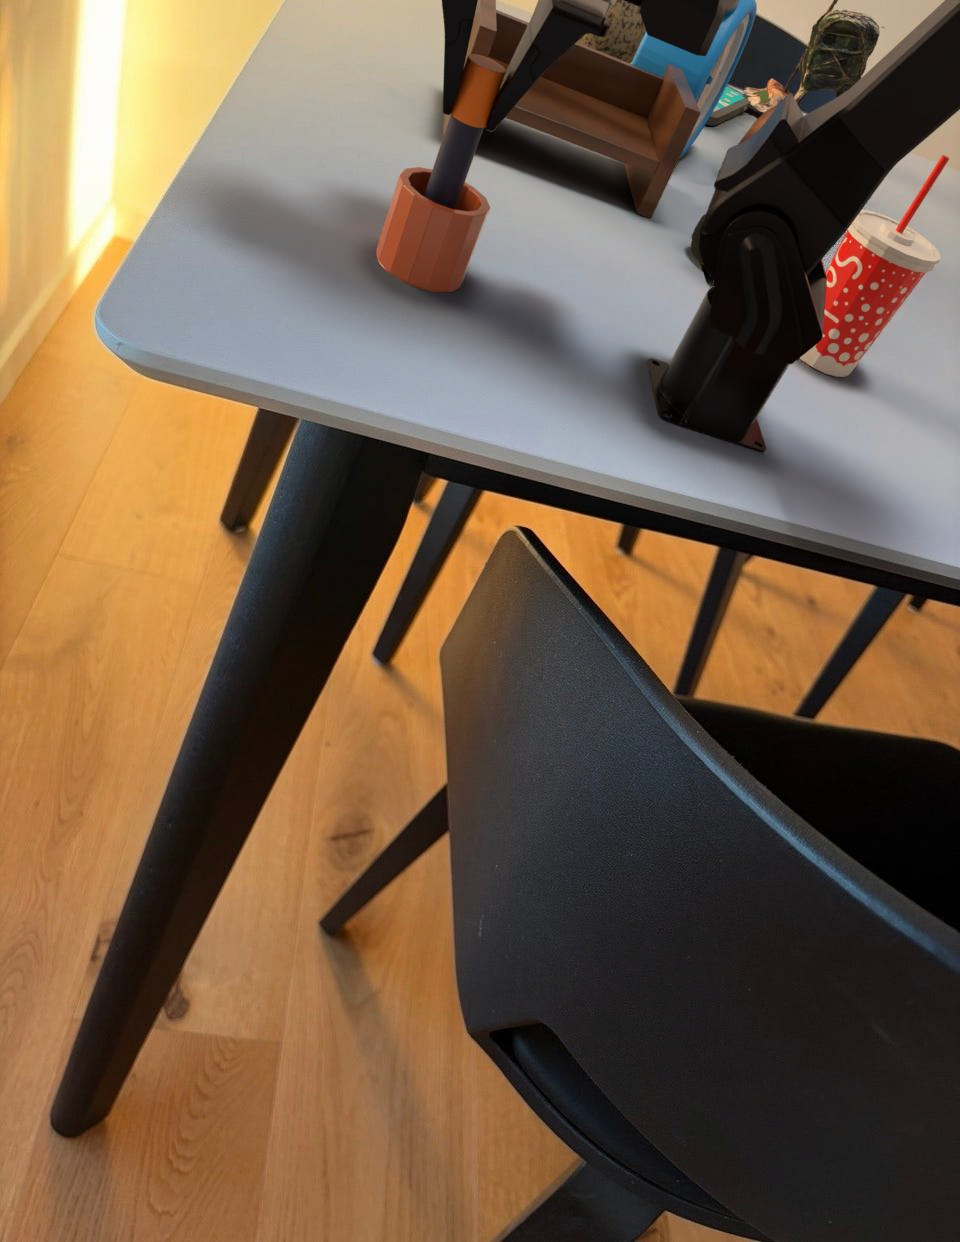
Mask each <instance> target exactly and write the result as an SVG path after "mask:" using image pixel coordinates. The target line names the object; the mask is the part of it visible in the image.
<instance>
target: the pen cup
mask: <svg viewBox="0 0 960 1242" xmlns="http://www.w3.org/2000/svg"><path fill="white" fill-rule="evenodd" d="M432 170H433V168H425V167H420V166H416V167H408V168H405V169H404V170H403V171H402V172H401V173H400V174H399V176H398V178H397V182H396V185H395V188H394V191H393V194H392V197H391V201H390V204H389V206H388V207H389V208H388V211H387V214H386V218H385V220H384V223H383V227H382V230H381V234H380V236H379V240H378V243H377V247H376V249H375V253H376V259H377V261H378V263H379V265H380V266H381V267H382V268H383V270H385V271H386V272H387V273H389V274H390V275H391V276H393V277H394V278H396V279H397V280H400V281H401V282H403V283H405V284H408V285H410V286H411V287H414V288H417V289H421V290H423V291H428V292H433V293H450V292H455V291H457V290H458V289H460V288H461V286H462V284H463V282H464V280H465V277H466V274H467V272H468V269H469V266H470V264H471V261H472V260H473V259H472V258H473V256H474V254H475V251H476V248H477V245H478V242H479V240H480V237H481V235H482V232H483V229H484V226H485V223H486V221H487V218H488V215H489V213H490V210H491V206H490V204H489V201H488V199H487V197H485V195H483V193H481V192H480V191H479V190H478V189H476V188H475V187H474V186H473V185H471V184H469V183H467V182H466V181H465V183H464V186H463V188H462V191H461V194H460V197H459V200H458V203H457V206H456V208H455V210H454V209H451V208H448V207H445V206H442V205H439V204H437V203H435V202H433V201H431V200H429V199H428V198H426V197H424V194H425V191H426V188H427V185H428V182H429V179H430V176H431V173H432Z"/></svg>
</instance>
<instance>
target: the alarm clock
mask: <svg viewBox="0 0 960 1242" xmlns="http://www.w3.org/2000/svg"><path fill="white" fill-rule="evenodd" d="M725 2H726V8H725V12H724V16H723V20H722V23H721V25H720V27H719V29H718V31H717V33H716V36H715V38H714V40H713V42H712V44H711V46H710V49H709V51H708V53H707V55H706V56H698V55H695V54H692V53H690V52H688V51H685V50H683V49H680V48H678V47H675V46H673V45H671V44H668V43H666V42H663V41H661V40H659V39H656V38H654V37H651V36H649V35H647V32H646V33H645V35H644V37H643V39H642V41H641V43H640V45H639V47H638V50H637V52H636V54H635V56H634V59H633V61H632V62H631V63H630V64H632V65H635V66H637V67H640V68H642V69H645V70H647V71H650V72H652V73H655V74H657V75H659V76H662V77H663V74H664V72H665V70H666V68H667V65H668V64H671V65H673V66H676V67H678V68H681V69H682V70H683V72H684V75H685V77H686V79H687V82H688V84H689V86H690V89H691V91H692V93H693V96H694V98H695V100H696V103H697V105H698V107H699V110H700V112H701V114H700V116H699V118H698V120H697V122H696V124H695V126H694V129H693V131H692V133H691V135H690V137H689V139H688V141H687V143H686V145H685V148H684V150H683V152H682V154H681V156H680V158H681V157H683V156H684V155H686V153H687V152H688V151H689V150H690V149H691V147H692V146H693V144H694V143H695V142H696V140H697V139H698V137H699V135H700V134H701V132H702V131H703V129H704V127H705V126H706V125H707V124H706V123H707V121H708V119H709V118H710V116H711V114H712V112H713V111H714V109H715V107H716V105H717V103H718V102H719V100H720V98H721V96H722V94H723V92H724V90H725V88H726V86H727V85H728V84H729V82H730V80H731V78H732V76H733V74H734V72H735V69H736V68H737V65H738V63H739V62H740V59H741V56H742V54H743V52H744V50H745V46H746V45H747V42H748V39H749V38H750V34H751V32H752V29H753V26H754V24H755V23H754V22H755V19H756V16H757V11H758V7H757V2H756V0H725Z"/></svg>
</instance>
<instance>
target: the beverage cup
mask: <svg viewBox="0 0 960 1242" xmlns="http://www.w3.org/2000/svg"><path fill="white" fill-rule="evenodd" d="M949 161H950V157H948V156H946V155H944V154H942V155H941V157H940V158H939V160H938V161H937V163H936V165H935V166H934V167H933V169H932V171H931V173H930V174H929V175H928V177H927V179H926V181H925V182H924V184H923V185H922V187H921V188H920V190H919V191H918V193H917V194H916V196H915V198H914V199H913V201H912V202H911V204H910V206H909V207H908V209H907V211H906V212H905V214H904V215H903V217H902V219H901V220H900V221H898V220H895V219H894V218H892V217H890V216H887V215H884V214H882V213H878V212H876V211H874V210H869V209H864V208H863V209H862V210H861V211H860V213H859V214H858V216H857V217H856V218H855V220H854V221H853V222H852V224H851V225H850V227H849V228H848V229H847V231H846V232H845V233H844V235H843V238H842V240H841V242H840V243H839V245H838V247H837V249H836V251H835V253H834V255H833V257H832V258H831V260H830V261H829V264H828V266H827V268H826V269H825V272H826V276H827V286H826V299H825V311H824V324H823V336H822V339H821V341H820V342H819V343H818V344H816V345H815V346H814V347H813V348H811V349H810V350H809V351H808V352H806V353H805V354H804V355H803V356H802V357H800V358H799V360H801V361H802V362H804V363H805V364H807V365H808V366H809V367H811V368H813V369H815V370H817V371H819V372H821V373H823V374H826V375H829V376H833V377H836V378H846V377H848V376H850V375H851V373H852V372H853V371H854V370H855V368H856V367H857V365H858V364H859V363H860V361H861V360H862V359H863V357H864V356H865V354H866V353H867V352H868V351H869V350H870V348H871V347H872V345H873V344H874V343H875V341H876V340H877V339H878V337H880V335H881V334H882V332H883V331H884V329H885V328H886V327H887V325H888V324H889V323H890V321H891V320H892V319H893V318H894V316H895V314H896V313H897V312H898V310H899V309H900V308H901V307H902V305H904V303H905V301H906V300H907V299H908V297H909V296H910V295H911V294H912V292H913V291H914V290H915V288H916V287H917V285H918V284H919V283H920V281H921V280H922V279H923V277H924V276H925V275H926V274H927V273H930V272H932V271H933V270H934V268H935V266H936V265H938V264H939V263H940V262H941V260H942V258H941V253H940V251H939V250H938V249H937V248H936V246H935V245H934V244H933V243H932V242H930V240H928V239H926V238H925V237H924V236H923V235H921V234H920V233H919V232H917V231H915V230H914V229H912V228H910V227H909V224H910V222H911V220H913V217H914V216H915V214H916V212H917V211H918V210H919V208H920V206H921V205H922V203H923V202H924V200H925V199H926V197H927V195H928V194H929V192H930V191H931V189H932V187H933V186H934V184H935V183H936V181H937V179H938V178H939V177H940V175H941V173H942V172H943V170H944V168H945V167H946V166H947V164H948V162H949Z"/></svg>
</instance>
